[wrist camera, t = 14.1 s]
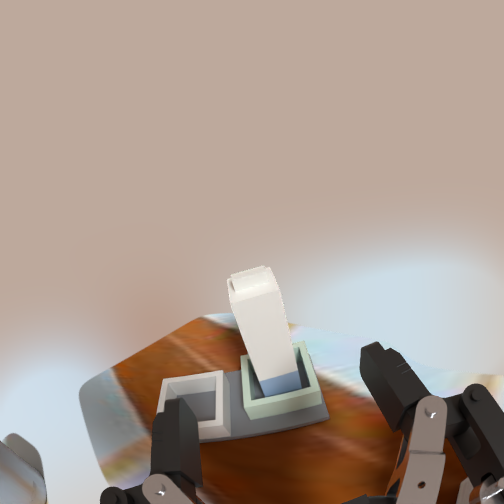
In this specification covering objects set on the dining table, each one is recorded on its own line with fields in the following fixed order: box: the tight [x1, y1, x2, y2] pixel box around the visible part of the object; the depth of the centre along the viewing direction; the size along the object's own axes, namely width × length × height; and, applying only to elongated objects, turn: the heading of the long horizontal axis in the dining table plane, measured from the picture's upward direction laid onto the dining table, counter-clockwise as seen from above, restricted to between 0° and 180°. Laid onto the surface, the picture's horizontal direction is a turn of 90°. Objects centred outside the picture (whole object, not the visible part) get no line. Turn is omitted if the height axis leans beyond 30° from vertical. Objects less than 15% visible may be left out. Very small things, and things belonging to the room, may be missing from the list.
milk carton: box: [227, 265, 302, 398], centre depth 24 cm, size 4×4×14 cm
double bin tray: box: [156, 341, 329, 443], centre depth 26 cm, size 17×9×3 cm, turn 94°
